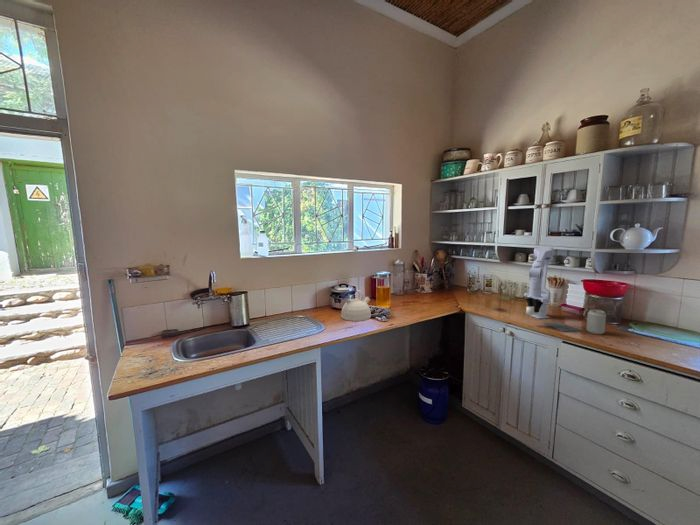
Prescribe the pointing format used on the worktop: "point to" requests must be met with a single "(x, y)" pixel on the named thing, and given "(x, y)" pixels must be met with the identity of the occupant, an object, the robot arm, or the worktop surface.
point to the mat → (561, 326)
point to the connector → (532, 311)
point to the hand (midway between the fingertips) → (533, 311)
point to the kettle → (356, 308)
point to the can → (596, 321)
